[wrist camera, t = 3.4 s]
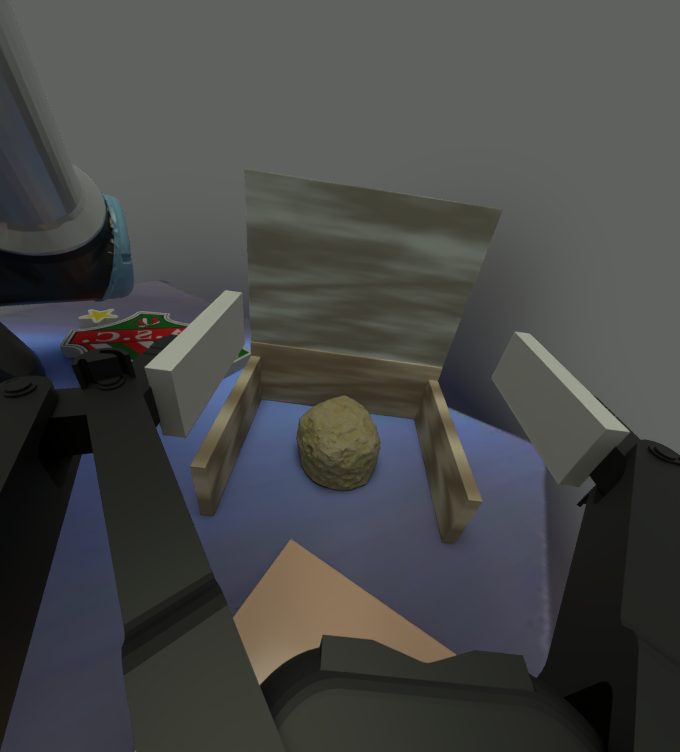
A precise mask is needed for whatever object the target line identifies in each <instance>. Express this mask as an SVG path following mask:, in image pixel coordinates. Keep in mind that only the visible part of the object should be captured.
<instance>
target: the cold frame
mask: <svg viewBox="0 0 680 752" xmlns="http://www.w3.org/2000/svg"><path fill="white" fill-rule="evenodd" d="M244 173H245V199H246V226H247V252H248V278H249V302H250V303H249V304H250V330H251V342H250V343H251V357H250V359H249V360H248V362H247V364H246V366H245V368H244V369H243V371H242V373H241V375H240V377H239V378H238V380H237V382H236V384H235V386H234V387H233V389H232V391H231V393H230V395H229V396H228V398H227V400H226V402H225V404H224V405H223V407H222V409H221V411H220V413H219V414H218V416H217V418H216V420H215V422H214V424H213V425H212V427H211V429H210V431H209V433H208V434H207V436H206V438H205V440H204V442H203V443H202V445H201V447H200V449H199V451H198V452H197V454H196V456H195V458H194V460H193V461H192V463H191V465H190V469H191V473H192V478H193V482H194V487H195V491H196V495H197V500H198V504H199V509H200V513H201V514H202V515H211V516H214V514H215V511H216V509H217V506H218V504H219V501H220V499H221V496H222V494H223V492H224V489H225V487H226V484H227V482H228V479H229V477H230V474H231V472H232V470H233V467H234V465H235V462H236V460H237V457H238V455H239V452H240V450H241V447H242V445H243V443H244V440H245V438H246V435H247V433H248V430H249V428H250V425H251V423H252V421H253V418H254V416H255V413H256V411H257V408H258V406H259V403H260V401H261V399H264V400H271V401H279V402H287V403H294V404H302V405H310V406H316V405H318V404H319V403H322V402H325V401H327V400H329V399H333V398H336V397H340V396H344V395H345V396H347V397H349V398H351V399H353V400H355V401H356V402H358V403H359V404H360V405H362V406H363V407H364V408H365V409H366V410H367V411H368V413H371V414H379V415H386V416H394V417H402V418H409V419H414V420H415V424H416V429H417V433H418V438H419V442H420V446H421V451H422V455H423V460H424V464H425V469H426V473H427V477H428V482H429V486H430V491H431V495H432V500H433V504H434V509H435V513H436V517H437V522H438V526H439V531H440V535H441V540H442V542H444V543H453V544H454V543H455V542H456V540H457V539H458V537H459V536H460V534H461V533H462V531H463V530H464V528H465V527H466V525H467V524H468V522H469V521H470V520H471V518H472V517H473V515H474V514H475V512H476V511H477V509H478V508H479V506H480V505H481V503H482V502H483V501H482V499H481V496H480V493H479V491H478V488H477V485H476V483H475V480H474V477H473V475H472V472H471V469H470V467H469V464H468V461H467V458H466V456H465V453H464V450H463V448H462V445H461V442H460V440H459V437H458V434H457V432H456V429H455V426H454V424H453V421H452V418H451V416H450V413H449V410H448V407H447V405H446V402H445V399H444V397H443V394H442V391H441V389H440V386H439V383H438V379H439V376H440V374H441V371H442V366H443V364H444V361H445V359H446V356H447V353H448V351H449V348H450V345H451V343H452V341H453V338H454V335H455V333H456V330H457V328H458V325H459V322H460V320H461V317H462V314H463V312H464V309H465V307H466V304H467V301H468V299H469V296H470V294H471V291H472V288H473V286H474V283H475V280H476V278H477V275H478V273H479V270H480V268H481V265H482V262H483V260H484V257H485V255H486V252H487V249H488V247H489V244H490V241H491V239H492V236H493V234H494V231H495V229H496V226H497V223H498V220H499V218H500V216H501V213H502V209H498V208H491V207H485V206H479V205H473V204H466V203H459V202H453V201H447V200H441V199H435V198H428V197H422V196H415V195H409V194H403V193H396V192H390V191H384V190H377V189H371V188H365V187H358V186H351V185H346V184H339V183H333V182H326V181H320V180H314V179H307V178H301V177H295V176H288V175H282V174H276V173H269V172H263V171H256V170H250V169H244Z"/></svg>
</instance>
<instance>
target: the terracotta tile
mask: <svg viewBox="0 0 680 752" xmlns="http://www.w3.org/2000/svg"><path fill="white" fill-rule="evenodd" d="M233 619H234V622H235V625H236V627H237V630H238V632H239V635H240V637H241V640H242V642H243V645H244V647H245V650H246V652H247V655H248V657H249V660H250V662H251V665H252V667H253V670H254V673H255V675H256V678H257V680H258V683H259V685H260V684H261V683H262V682H263V681H264V680H265V679H266V678H267V677H268V676H269V675H270V674H271V673H272V672H273V671H274V670H276V669H277V668H278V667H279V666H281V665H282V664H283V663H284V662H286V661H288V660H289V659H291V658H293V657H294V656H296V655H298V654H300V653H303V652H305V651H307V650H311V649H314V648H318V647H319V646H320V643H321V639H322V636H323V635H332V636H342V637H351V638H361V639H370V640H374V641H377V642H379V643H381V644H383V645H386V646H388V647H390V648H392V649H395V650H397V651H399V652H401V653H404V654H406V655H408V656H410V657H413V658H415V659H417V660H419V661H422V662H425V663H430V662H435V661H438V660H442V659H445V658H449V657H453V656H456V654H455V653H453V652H452V651H450V650H449V649H447V648H446V647H445V646H443V645H442V644H440V643H439V642H437V641H436V640H435V639H433V638H432V637H430V636H429V635H427V634H426V633H425V632H423V631H422V630H420V629H419V628H417V627H416V626H415V625H413V624H412V623H410V622H409V621H407V620H406V619H405V618H403V617H402V616H400V615H399V614H397V613H396V612H395V611H393V610H392V609H390V608H389V607H387V606H386V605H385V604H383V603H382V602H380V601H379V600H377V599H376V598H375V597H373V596H372V595H370V594H369V593H367V592H366V591H365V590H363V589H362V588H360V587H359V586H357V585H356V584H355V583H353V582H352V581H350V580H349V579H347V578H346V577H345V576H343V575H342V574H340V573H339V572H337V571H336V570H335V569H333V568H332V567H330V566H329V565H327V564H326V563H325V562H323V561H322V560H320V559H319V558H317V557H316V556H315V555H313V554H312V553H310V552H309V551H307V550H306V549H305V548H303V547H302V546H300V545H299V544H297V543H296V542H295V541H293V540H292V539H291V540H290V541H289V542H288V544H287V545H286V546H285V548H284V549H283V550H282V552H281V553H280V555H279V556H278V557H277V559H276V560H275V561H274V563H273V564H272V565H271V567H270V568H269V570H268V571H267V572H266V574H265V575H264V576H263V578H262V579H261V580H260V582H259V583H258V584H257V586H256V587H255V589H254V590H253V591H252V593H251V594H250V595H249V597H248V598H247V599H246V601H245V602H244V604H243V605H242V606H241V608H240V609H239V610H238V612H237V613H236V614H235V616H234V617H233ZM135 752H136V750H135Z"/></svg>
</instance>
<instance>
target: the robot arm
mask: <svg viewBox="0 0 680 752" xmlns="http://www.w3.org/2000/svg"><path fill="white" fill-rule="evenodd" d="M130 256H131V252H130V242H129V236H128V231H127V226H126V221H125V217H124V214H123V210H122V207H121V204H120V202H119V201H118V200H117V199H116V198H114V197H113V196H109V195H106V194H105V193H102V192H101V193H100V191H99V189H98V188H97V186H96V184H95V183H94V182H93V181H92V180H91V178H90V177H88V176H87V175H86V174H85V173H84V172H83V171H82V170H80V169H79V168H78V167H76V166H75V165H73V164H72V163H71V160H70V157H69V155H68V152H67V149H66V147H65V144H64V141H63V139H62V136H61V133H60V131H59V128H58V125H57V123H56V120H55V118H54V115H53V112H52V110H51V107H50V104H49V102H48V99H47V96H46V94H45V91H44V89H43V86H42V83H41V81H40V78H39V76H38V73H37V70H36V67H35V65H34V62H33V59H32V57H31V54H30V51H29V49H28V46H27V43H26V41H25V38H24V35H23V33H22V30H21V27H20V25H19V22H18V20H17V17H16V14H15V12H14V9H13V6H12V4H11V1H10V0H0V306H13V305H29V304H44V303H59V302H75V301H90V300H94V301H98V302H101V301H104V300H106V299H114V298H122V297H125V296H127V295H129V294H130V293H131V291H132V290H133V285H134V276H133V275H134V274H133V265H132V259H131V257H130ZM244 345H245V340H244V320H243V301H242V293H240V292H233V291H224V293H222V294H221V295H220V296H219V297H218V298H217V299H216V300H215V301H214V302H213V303H212V304H211V305H210V306H209V307H208V308H207V309H206V310H204V311H203V312H202V313H201V314H200V315H199V316H198V317H197V318H196V319H195V320H194V321H193V322H192V323H191V324H190V325H189V326H188V327H187V328H186V329H184V330H183V331H182V332H181V333H180V334H179V335H174V334H169V335H167V336H164V337H162V338H160V339H158V340H156V341H155V342H154V343H153V344H152V345H151V346H150V347H149V348H147V349H146V350H145V351H144V352H143V354H140V355H139V356H138V357H137V358H136V359H135V360H133V361H132V362H131V358H130V355H129V353H128V352H127V351H126V350H123V349H120V348H99V349H95V350H91V351H87V352H85V353H83V354H81V355H79V356H78V357H76V358H75V359H74V360H73V362H72V365H71V366H72V368H73V370H74V372H75V375H76V377H77V379H78V382H79V384H80V386H81V388H70V389H55V388H54V386H53V384H52V382H51V381H50V380H49V379H48V378H47V377H45V370H44V368H43V366H42V364H41V362H40V360H39V358H38V356H37V355H36V354H35V353H34V352H33V351H32V350H31V349H30V348H29V347H28V346H27V345H26V344H25V343H23V342H22V341H21V340H20V339H19V338H18V337H17V336H16V335H14V334H13V333H12V332H11V331H10V330H9V329H8V328H7V327H5V326H4V325H3V324H2V323H1V322H0V749H1V746H2V742H3V738H4V735H5V731H6V727H7V724H8V720H9V717H10V713H11V709H12V706H13V702H14V698H15V695H16V691H17V687H18V684H19V680H20V677H21V673H22V669H23V666H24V662H25V658H26V655H27V651H28V647H29V644H30V640H31V637H32V633H33V629H34V626H35V622H36V618H37V615H38V611H39V607H40V604H41V600H42V596H43V593H44V589H45V586H46V582H47V578H48V575H49V571H50V567H51V564H52V560H53V556H54V553H55V549H56V546H57V542H58V538H59V535H60V531H61V527H62V524H63V520H64V516H65V513H66V509H67V506H68V502H69V498H70V495H71V491H72V487H73V484H74V480H75V476H76V473H77V469H78V466H79V462H80V458H81V455H82V454H87V453H93V454H94V460H95V466H96V471H97V477H98V483H99V488H100V494H101V500H102V505H103V511H104V517H105V522H106V528H107V534H108V539H109V545H110V550H111V556H112V562H113V567H114V573H115V579H116V584H117V590H118V596H119V601H120V607H121V613H122V618H123V624H124V631H125V640H124V643H123V646H122V666H123V674H124V681H125V687H126V693H127V699H128V706H129V712H130V718H131V724H132V730H133V737H134V743H135V749H136V752H680V455H679V454H677V453H676V452H674V451H673V450H671V449H670V448H668V447H666V446H664V445H662V444H659V443H656V442H654V441H650V440H640V439H639V438H638V437H637V436H636V435H635V434H634V433H633V432H632V431H631V430H630V429H629V428H628V427H627V426H626V425H625V424H624V423H623V422H622V421H621V420H620V419H618V417H615V415H614V413H612V412H611V411H610V410H609V409H607V407H606V406H605V405H604V404H603V403H602V402H601V401H600V400H599V399H598V398H597V397H595V396H593V395H592V394H591V393H590V392H589V391H588V390H587V389H586V388H585V387H584V386H583V385H582V384H580V382H579V381H578V380H577V379H576V378H574V377H573V376H572V375H571V374H570V373H569V372H568V371H567V370H566V369H565V368H564V367H563V366H562V365H561V364H560V363H559V362H558V361H557V360H556V359H555V358H554V357H553V356H552V355H551V354H550V353H549V352H548V351H547V350H546V349H545V348H544V347H543V346H542V345H541V344H540V343H539V342H538V341H537V340H536V339H535V338H534V337H533V336H532V335H531V334H527V333H520V332H514V334H513V336H512V338H511V340H510V342H509V344H508V346H507V348H506V350H505V352H504V354H503V356H502V358H501V360H500V362H499V364H498V366H497V368H496V370H495V372H494V374H493V376H492V380H493V381H494V383H495V385H496V386H497V388H498V389H499V391H500V393H501V394H502V396H503V397H504V399H505V401H506V402H507V404H508V405H509V407H510V408H511V410H512V412H513V413H514V415H515V417H516V418H517V420H518V421H519V423H520V425H521V426H522V428H523V429H524V431H525V433H526V434H527V436H528V437H529V439H530V440H531V442H532V444H533V445H534V447H535V448H536V450H537V452H538V453H539V455H540V456H541V458H542V460H543V461H544V463H545V464H546V466H547V468H548V469H549V471H550V472H551V474H552V476H553V477H554V479H555V480H556V482H557V484H558V485H566V486H574V487H580V485H581V484H582V483H583V482H584V481H585V480H586V479H587V478H588V477H589V476H590V477H591V478H592V480H593V481H594V482H595V484H596V485H595V486H594V487H593V489H591V490H590V491H589V492H588V493H587V494H586V495H585V496H584V498H583V499H582V500H581V501H580V502H579V503H578V504H577V505H578V506H580V507H581V506H582V505H583V504H586V507H585V512H584V515H583V520H582V523H581V528H580V531H579V535H578V539H577V543H576V547H575V551H574V555H573V559H572V563H571V567H570V571H569V575H568V579H567V583H566V587H565V591H564V595H563V599H562V603H561V607H560V611H559V615H558V618H557V622H556V626H555V630H554V634H553V638H552V642H551V646H550V650H549V654H548V658H547V661H546V664H545V666H544V668H543V670H542V672H541V673H540V674H539V676H538V677H537V678H536V677H534V676H532V675H531V674H529V673H528V670H527V667H526V664H525V661H524V658H523V655H513V654H504V653H494V652H485V651H475V650H474V651H471V652H467V653H464V654H460V655H456V656H453V657H449V658H445V659H442V660H438V661H435V662H430V663H425V662H422V661H419V660H417V659H415V658H413V657H410V656H408V655H406V654H404V653H401V652H399V651H397V650H395V649H392V648H390V647H388V646H386V645H383V644H381V643H379V642H377V641H374V640H370V639H361V638H351V637H342V636H332V635H323V636H322V639H321V643H320V646H319V647H318V648H314V649H311V650H307V651H305V652H303V653H300V654H298V655H296V656H294V657H293V658H291V659H289V660H288V661H286V662H284V663H283V664H282V665H281V666H279V667H278V668H277V669H276V670H274V671H273V672H272V673H271V674H270V675H269V676H268V677H267V678H266V679H265V680H264V681H263V682H262V683H261V684H260V685H259V683H258V680H257V678H256V675H255V673H254V670H253V667H252V665H251V662H250V660H249V657H248V655H247V652H246V650H245V647H244V645H243V642H242V640H241V637H240V635H239V632H238V630H237V627H236V625H235V622H234V619H233V617H232V614H231V612H230V609H229V607H228V604H227V602H226V599H225V597H224V595H223V592H222V590H221V588H220V586H219V584H218V583H217V582H216V580H215V578H214V575H213V573H212V570H211V568H210V565H209V562H208V560H207V557H206V555H205V552H204V550H203V547H202V544H201V542H200V539H199V537H198V534H197V532H196V529H195V527H194V524H193V521H192V519H191V516H190V514H189V511H188V509H187V506H186V503H185V501H184V498H183V496H182V493H181V491H180V488H179V486H178V483H177V480H176V478H175V475H174V473H173V470H172V468H171V465H170V463H169V460H168V457H167V455H166V452H165V450H164V447H163V445H162V442H161V439H160V437H159V434H158V432H157V429H156V427H157V425H158V424H159V423H160V426H161V429H162V433H163V435H168V436H176V437H184V438H186V437H187V435H188V434H189V432H190V430H191V429H192V427H193V426H194V424H195V422H196V421H197V419H198V418H199V416H200V414H201V413H202V411H203V410H204V408H205V407H206V405H207V403H208V402H209V400H210V399H211V397H212V395H213V394H214V392H215V391H216V389H217V387H218V386H219V384H220V383H221V381H222V380H223V378H224V376H225V375H226V373H227V372H228V370H229V368H230V367H231V365H232V364H233V362H234V360H235V359H236V357H237V356H238V354H239V353H240V351H241V349H242V348H243V346H244Z"/></svg>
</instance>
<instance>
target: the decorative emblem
mask: <svg viewBox="0 0 680 752" xmlns="http://www.w3.org/2000/svg"><path fill="white" fill-rule="evenodd" d="M88 313H89V315H84V316H80V317H78V319H79V322H80V324H81V327H82V329H73V330H70V331H69V333H68V334H67V336H66V337H65V339H64V340H63V342H62V343H61V345H60V347H61V349H62V352H63V354H64V356H65V358H76V357H78V356H79V355H81V354H83V353H85V352H87V351H91V350H95V349H99V348H120V349H123V350H126V351H127V352H128V353H129V355H130V358H131V362H132V361H133V360H135V359H136V358H137V357H138V356H139V355H140V354H143V352H144V351H145V350H146V349H147V348H149V347H150V346H151V345H152V344H153V343H154V342H155V341H156V340H158V339H160V338H162V337H164V336H167V335H169V334H174V335H179V334H180V333H181V332H182V331H183V330H184V329H186V328H187V327H188V326H189V325H190V324H186V323H181V322H176V321H173V320H171V317H170V314H169V313H155V312H142V311H139V312H137V313H136V314H134V315H132V316H131V317H128V318H126V319H124V320H121V321H119V318H118V316H116V315H115V311H114V309H108V310H105V311H97V310H93V309H90V310H88ZM250 357H251V351H250V350H248V349H246V348H242V349H241V351H240V353H239V354H238V356H237V357H236V359H235V360H234V362H233V364H232V365H231V367H230V368H229V370H228V372H227V373H226V375H225V376H224V378H226V377H228V376H229V375H231V374H233V373H235V372H237V371H239V370H240V369H242V368H244V367H245V366H246V364H247V362H248V360H249V359H250ZM224 378H223V379H224Z"/></svg>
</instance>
